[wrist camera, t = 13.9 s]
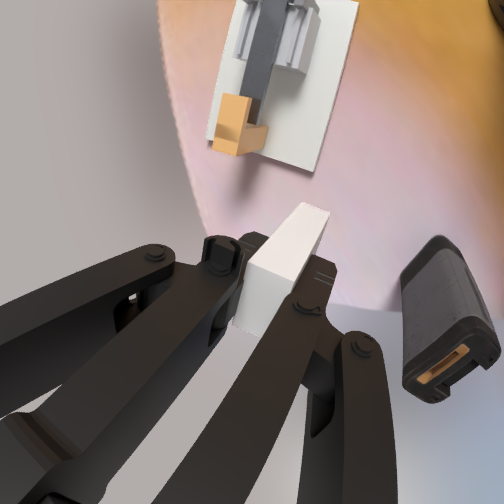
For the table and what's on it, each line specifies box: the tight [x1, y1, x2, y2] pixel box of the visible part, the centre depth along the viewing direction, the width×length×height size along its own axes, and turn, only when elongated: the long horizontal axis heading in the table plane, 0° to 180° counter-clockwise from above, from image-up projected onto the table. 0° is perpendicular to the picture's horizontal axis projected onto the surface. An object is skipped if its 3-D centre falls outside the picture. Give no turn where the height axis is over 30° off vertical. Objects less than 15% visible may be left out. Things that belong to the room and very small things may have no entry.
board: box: [205, 0, 359, 172], centre depth 29 cm, size 24×16×8 cm, turn 167°
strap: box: [239, 0, 294, 125], centre depth 26 cm, size 17×4×1 cm, turn 167°
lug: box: [212, 93, 269, 156], centre depth 32 cm, size 6×3×8 cm, turn 167°
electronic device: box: [400, 235, 501, 404], centre depth 27 cm, size 9×6×20 cm, turn 152°
